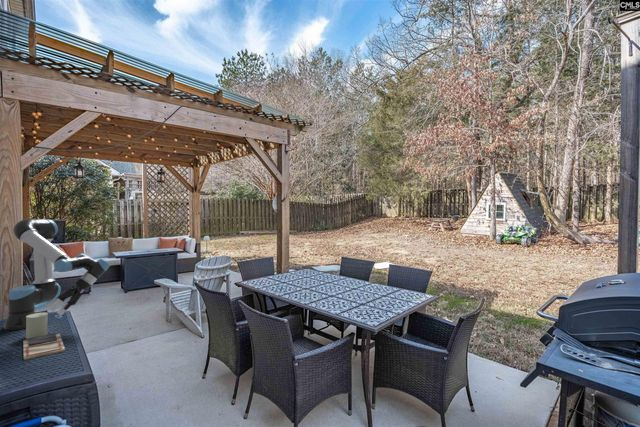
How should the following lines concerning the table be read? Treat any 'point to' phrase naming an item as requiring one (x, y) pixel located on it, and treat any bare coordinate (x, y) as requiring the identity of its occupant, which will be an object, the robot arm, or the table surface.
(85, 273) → the robot arm
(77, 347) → the table surface
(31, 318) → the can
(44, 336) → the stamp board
